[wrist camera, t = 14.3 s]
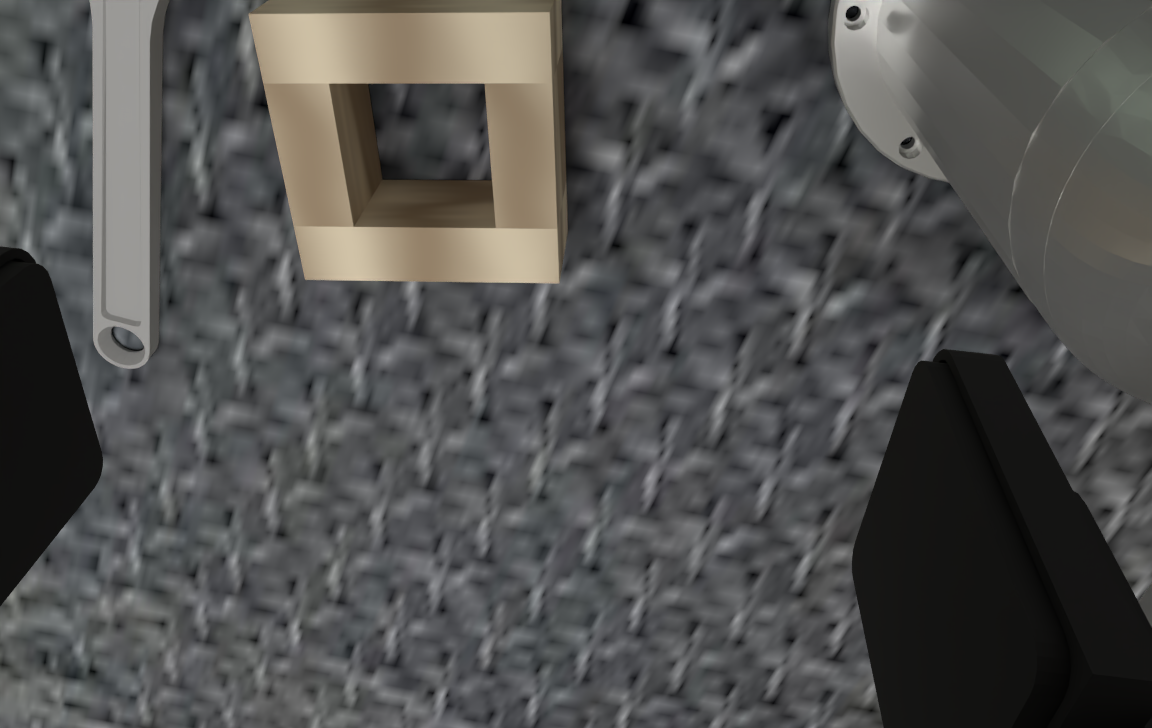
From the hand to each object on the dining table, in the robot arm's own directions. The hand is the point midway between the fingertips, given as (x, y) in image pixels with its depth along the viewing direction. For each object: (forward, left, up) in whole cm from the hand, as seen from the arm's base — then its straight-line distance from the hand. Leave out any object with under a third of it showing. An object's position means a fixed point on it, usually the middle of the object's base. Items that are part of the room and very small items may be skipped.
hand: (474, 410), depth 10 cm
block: (+6, +6, -27) cm, 29 cm away
